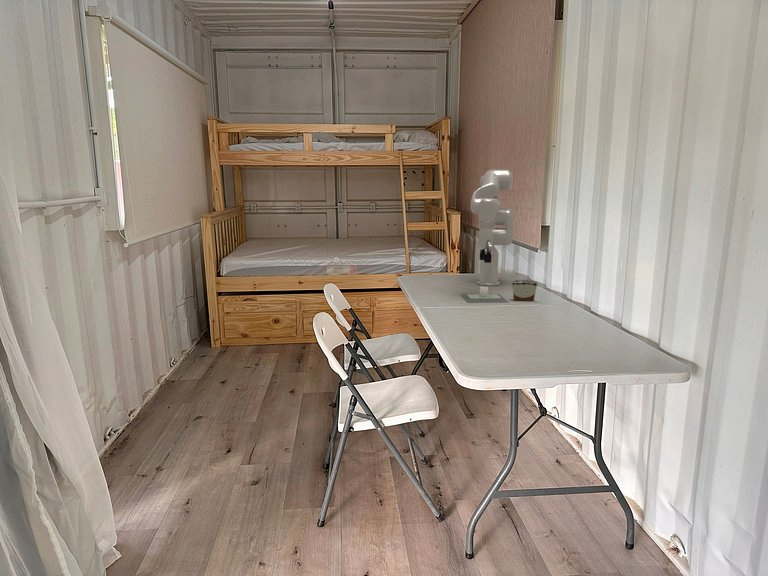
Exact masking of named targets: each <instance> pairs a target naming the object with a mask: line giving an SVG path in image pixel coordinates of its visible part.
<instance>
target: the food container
mask: <svg viewBox="0 0 768 576" xmlns="http://www.w3.org/2000/svg"><path fill="white" fill-rule="evenodd" d="M510 286H512V296H513V297H512V300H513V302H535V298H536V291H537V287H539V285H538V281H536V280H529V279H515V280H512V282H511V284H510Z"/></svg>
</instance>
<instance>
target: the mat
mask: <svg viewBox="0 0 768 576" xmlns="http://www.w3.org/2000/svg"><path fill="white" fill-rule="evenodd" d="M467 294H468V293H459V295H460V297H461V298H462V299H463V300H464V301H465V302H466V303H467V304H511V303H510V302H509V300H507V299H506V298H505V297H503V296H502V295H501V294H500V293H496V294H497V295H498V296H500V297H501V300H470V299H469V298H468V297H467Z"/></svg>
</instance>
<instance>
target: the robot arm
mask: <svg viewBox="0 0 768 576" xmlns="http://www.w3.org/2000/svg"><path fill="white" fill-rule="evenodd" d="M479 186H480V187H479V188H477V189H476V190H475V191H474V192H473V193H472V196H471V200H470V205H469V206H470V211H471V213H473V214H474V215H478V229H479V233H478V244H477V245H478V246H477V248H478V249H479V261H480V275H479V280H477V283H476V284H478V285H481V286H486V287H490V286H491V287H493V286H494V287H495V286H500V284H501V282H500V281H498V279H499V278H498V276H499V275H498V274H499V251H498V248H496V246H509V245H512V243H513V236H514V211H513V209H512V208H510V207H501V205H502V203H501V197H500V195H499V192H501V191H502V192H506V191H509V192H510V191H511V190H512V189H513V186H514V177H513V173H512V171H511V170H509V169H490V170H487V171H486V172H485V173H484V175H482V176H481V177H480V180H479ZM496 226H504V227H496Z"/></svg>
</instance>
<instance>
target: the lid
mask: <svg viewBox="0 0 768 576" xmlns="http://www.w3.org/2000/svg"><path fill="white" fill-rule="evenodd" d="M466 294H467V297H468V298H469V299H470V300H501V297H500V296H498V295H497V294H498V293H489V286H486V285H481V286H480V287H479V293H466Z"/></svg>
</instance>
